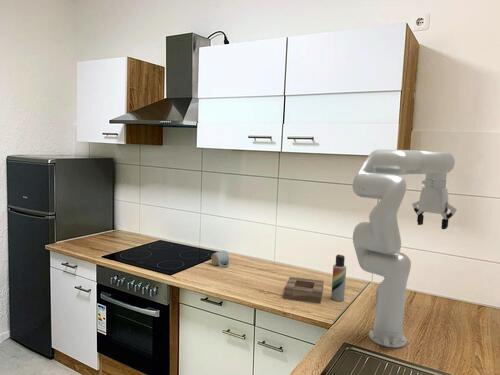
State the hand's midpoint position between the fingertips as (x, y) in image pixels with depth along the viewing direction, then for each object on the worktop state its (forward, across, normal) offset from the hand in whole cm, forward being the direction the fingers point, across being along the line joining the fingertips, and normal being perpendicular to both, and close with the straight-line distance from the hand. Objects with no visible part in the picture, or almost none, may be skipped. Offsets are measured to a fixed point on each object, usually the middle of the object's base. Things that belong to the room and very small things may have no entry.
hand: (431, 226), depth 153 cm
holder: (+37, -43, -26) cm, 62 cm away
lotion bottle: (+37, -31, -17) cm, 51 cm away
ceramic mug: (+37, -101, -32) cm, 112 cm away
